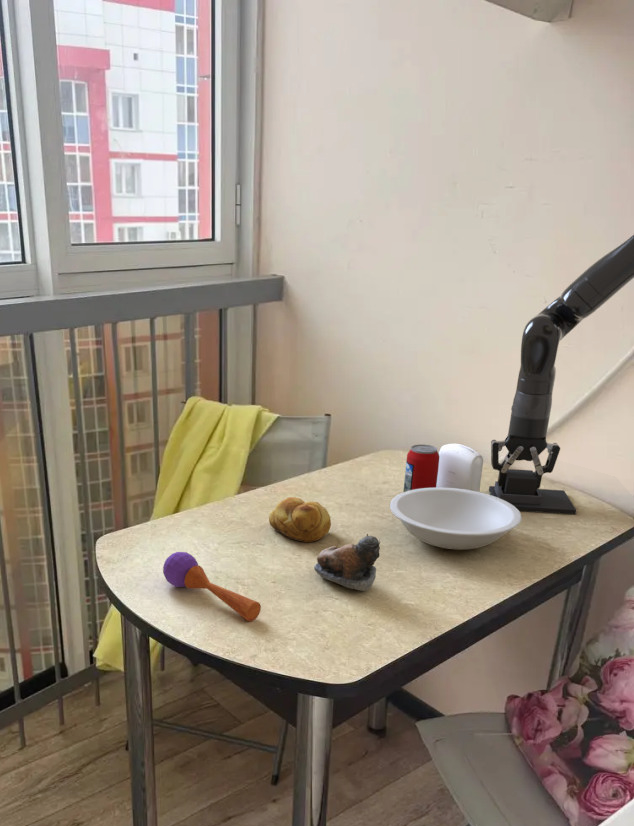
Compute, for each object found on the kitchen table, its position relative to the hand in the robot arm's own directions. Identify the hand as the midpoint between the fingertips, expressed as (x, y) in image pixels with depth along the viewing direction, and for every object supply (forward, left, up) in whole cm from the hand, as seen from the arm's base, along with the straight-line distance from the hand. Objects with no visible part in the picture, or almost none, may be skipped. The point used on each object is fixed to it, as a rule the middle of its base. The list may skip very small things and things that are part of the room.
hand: (518, 488), depth 167 cm
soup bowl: (+16, +24, -3) cm, 29 cm away
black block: (0, 0, -1) cm, 1 cm away
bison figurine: (+35, +46, -3) cm, 58 cm away
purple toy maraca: (+57, +56, -3) cm, 80 cm away
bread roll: (+45, +26, -3) cm, 52 cm away
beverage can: (+21, +4, -3) cm, 22 cm away
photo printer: (+13, +2, -3) cm, 13 cm away
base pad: (-3, 0, -3) cm, 4 cm away
